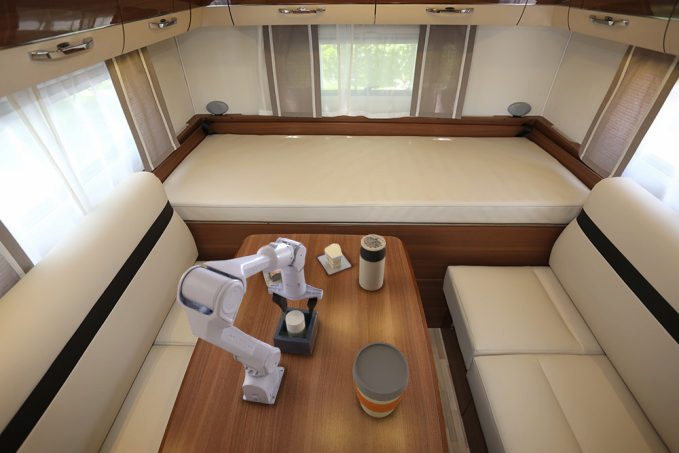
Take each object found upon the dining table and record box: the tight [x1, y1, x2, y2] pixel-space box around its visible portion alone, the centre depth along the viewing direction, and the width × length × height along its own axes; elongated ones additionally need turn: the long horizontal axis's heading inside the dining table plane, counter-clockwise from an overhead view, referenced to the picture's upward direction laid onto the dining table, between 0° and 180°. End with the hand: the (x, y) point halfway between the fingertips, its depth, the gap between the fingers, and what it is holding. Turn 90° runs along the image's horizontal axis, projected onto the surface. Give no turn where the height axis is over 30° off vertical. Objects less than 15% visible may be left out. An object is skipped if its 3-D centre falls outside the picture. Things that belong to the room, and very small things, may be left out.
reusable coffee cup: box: [352, 341, 410, 418], centre depth 77 cm, size 13×13×15 cm
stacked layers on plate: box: [317, 243, 352, 276], centre depth 119 cm, size 10×9×6 cm
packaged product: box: [260, 244, 283, 289], centre depth 117 cm, size 18×5×10 cm
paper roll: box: [286, 310, 306, 339], centre depth 93 cm, size 9×5×5 cm
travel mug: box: [358, 233, 387, 292], centre depth 107 cm, size 8×8×18 cm
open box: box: [272, 306, 320, 357], centre depth 94 cm, size 11×10×6 cm
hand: (298, 311), depth 94 cm, fingers open, 7 cm apart
